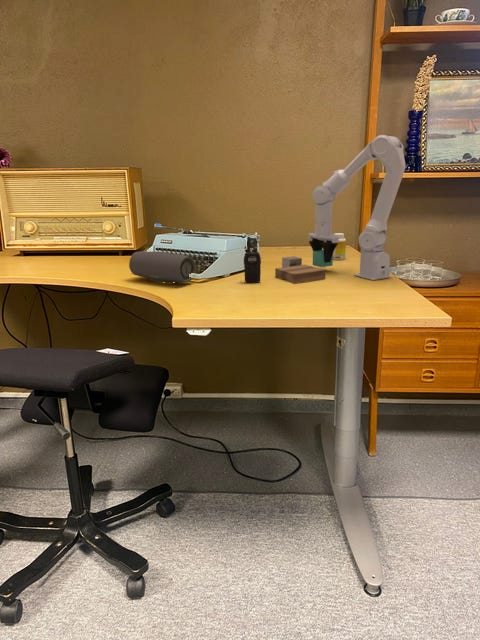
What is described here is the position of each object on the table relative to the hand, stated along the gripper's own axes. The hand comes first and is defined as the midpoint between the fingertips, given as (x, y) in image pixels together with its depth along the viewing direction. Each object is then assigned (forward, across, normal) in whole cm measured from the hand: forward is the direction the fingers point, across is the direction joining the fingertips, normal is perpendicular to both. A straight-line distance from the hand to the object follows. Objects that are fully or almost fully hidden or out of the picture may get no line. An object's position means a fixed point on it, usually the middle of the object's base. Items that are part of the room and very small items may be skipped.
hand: (322, 261), depth 167 cm
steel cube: (+4, +6, +9) cm, 12 cm away
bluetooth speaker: (+4, +16, +54) cm, 57 cm away
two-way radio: (+4, -1, +29) cm, 29 cm away
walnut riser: (+4, -5, +13) cm, 14 cm away
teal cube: (+2, 0, 0) cm, 2 cm away
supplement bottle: (+4, +16, -20) cm, 26 cm away
